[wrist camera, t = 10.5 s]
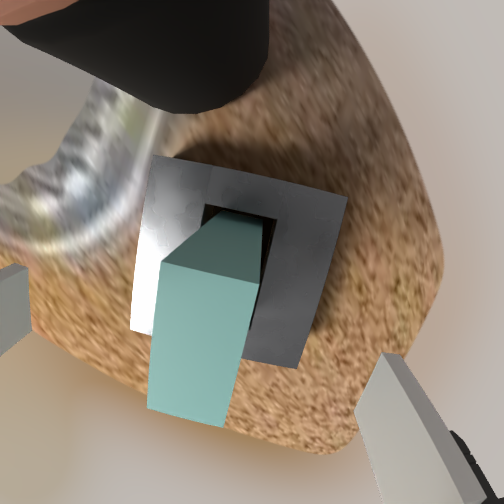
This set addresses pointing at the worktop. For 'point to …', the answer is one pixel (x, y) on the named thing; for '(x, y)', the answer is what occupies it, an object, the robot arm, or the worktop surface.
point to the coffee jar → (152, 45)
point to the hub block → (277, 255)
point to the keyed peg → (204, 318)
